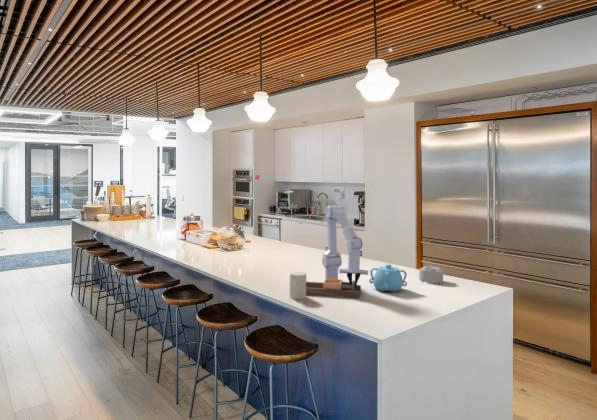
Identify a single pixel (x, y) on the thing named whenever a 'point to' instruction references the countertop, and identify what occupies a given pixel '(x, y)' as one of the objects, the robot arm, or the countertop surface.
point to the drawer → (337, 284)
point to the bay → (331, 290)
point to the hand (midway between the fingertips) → (353, 287)
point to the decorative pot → (388, 278)
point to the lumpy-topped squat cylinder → (431, 274)
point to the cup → (297, 285)
